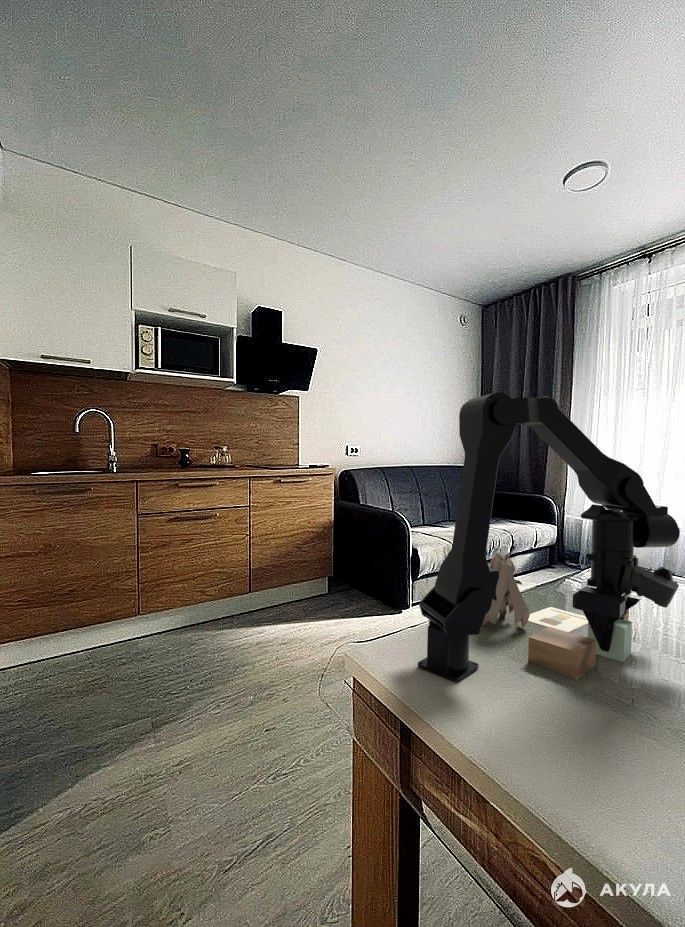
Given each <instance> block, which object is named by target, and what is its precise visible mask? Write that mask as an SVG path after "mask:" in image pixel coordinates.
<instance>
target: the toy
mask: <svg viewBox="0 0 685 927" xmlns="http://www.w3.org/2000/svg"><path fill="white" fill-rule="evenodd" d="M510 557H511V552H507V554H505V553H502V552H500V553H497V552H496V553H495V554H494V555H493V557H492V559H491V560H490V563H489V568H492V569H494V570H497V571H498V572H499V579H498V583H497V586H496V597H497V600H496V601H495V600H492V605H491V609H490V611H489V612H488V613H486V615H485V618H484V621H483V623H482V626H481V627H483V626H485V625H486V623H487V622H488V621H489V622H491V623H492V624H493V625H496V622H497V619H498V618H499V619H506V615H507V613H509V614H511V613H512V611H513V612H514V626H516V625H517V624H518V623H519V622H521V628H522V629H524V627H525V626H526V624H527V623H528V619H529V616H530V615H529V614H530V610H529V608H528V606H527V604H526V601H525V599H524V597H523V596H522V593H521V590H520V589H519V587H518V585H520V586H522V585H523V583H522V581H520V580H518V579H515V577H514V573H515V572H516V567H515V565H514V563H513V561H512V560H511V558H510ZM507 607H508V612H507Z"/></svg>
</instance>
